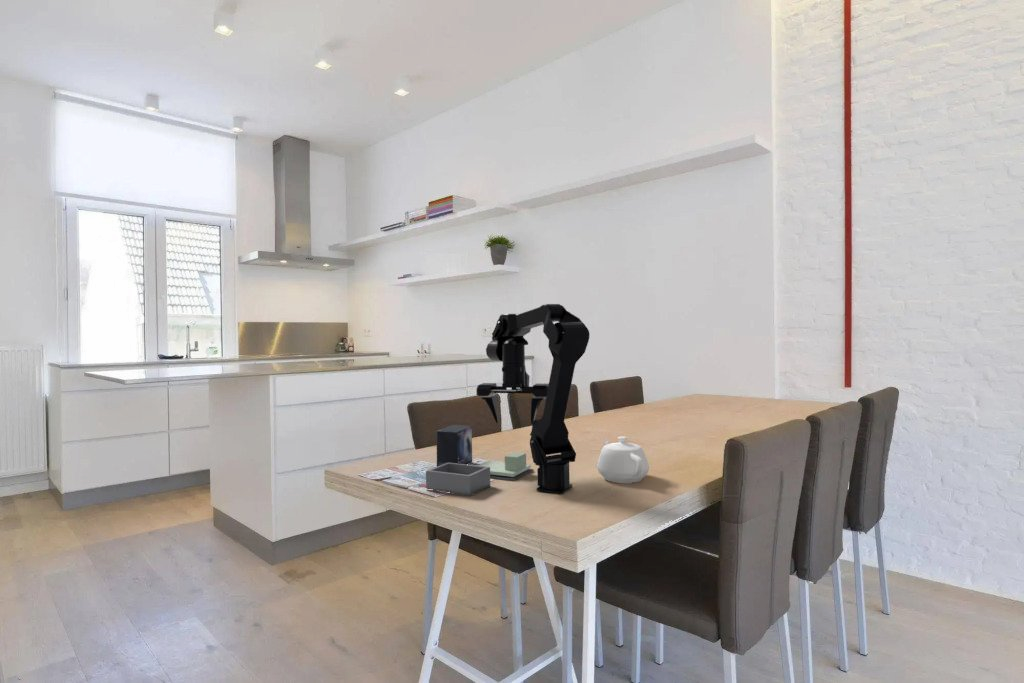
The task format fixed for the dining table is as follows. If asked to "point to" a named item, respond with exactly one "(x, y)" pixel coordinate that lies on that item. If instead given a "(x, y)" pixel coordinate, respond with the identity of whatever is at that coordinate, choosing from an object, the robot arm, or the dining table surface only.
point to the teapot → (622, 462)
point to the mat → (511, 477)
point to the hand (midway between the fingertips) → (514, 423)
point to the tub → (458, 478)
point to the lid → (508, 465)
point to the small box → (454, 445)
